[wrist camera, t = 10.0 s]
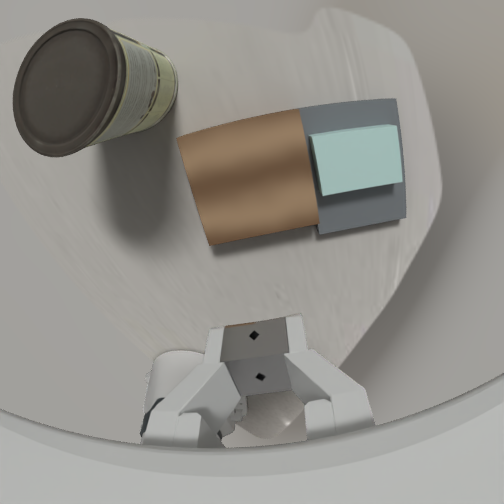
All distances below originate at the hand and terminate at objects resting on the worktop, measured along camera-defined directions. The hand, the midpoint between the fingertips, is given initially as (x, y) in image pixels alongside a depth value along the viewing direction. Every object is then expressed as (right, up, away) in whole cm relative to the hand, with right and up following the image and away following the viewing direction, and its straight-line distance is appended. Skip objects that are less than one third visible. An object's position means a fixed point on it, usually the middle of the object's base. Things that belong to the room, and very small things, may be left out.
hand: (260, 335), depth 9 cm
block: (+10, +13, +18) cm, 25 cm away
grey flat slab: (+11, +12, +20) cm, 26 cm away
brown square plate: (0, +11, +21) cm, 24 cm away
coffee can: (-13, +20, +17) cm, 29 cm away
